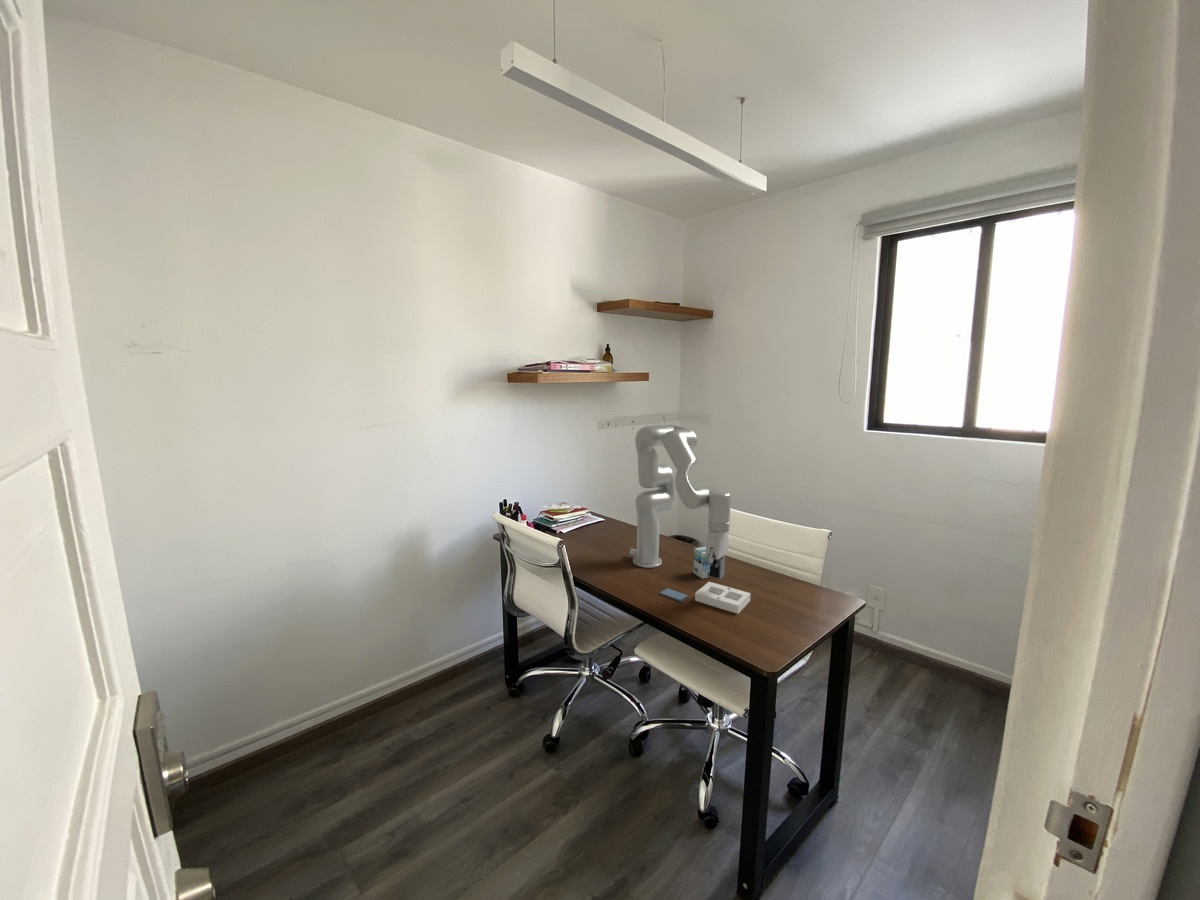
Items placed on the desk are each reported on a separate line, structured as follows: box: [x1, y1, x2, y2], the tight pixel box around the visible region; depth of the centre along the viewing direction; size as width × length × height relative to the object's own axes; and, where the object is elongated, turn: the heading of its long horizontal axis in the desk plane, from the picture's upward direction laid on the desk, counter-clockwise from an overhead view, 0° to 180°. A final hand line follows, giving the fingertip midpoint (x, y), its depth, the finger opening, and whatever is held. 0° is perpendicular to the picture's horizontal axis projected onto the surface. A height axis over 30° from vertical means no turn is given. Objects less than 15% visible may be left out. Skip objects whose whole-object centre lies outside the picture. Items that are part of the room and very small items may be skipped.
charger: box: [710, 556, 726, 580], centre depth 173 cm, size 4×4×7 cm
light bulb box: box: [692, 546, 711, 579], centre depth 196 cm, size 11×7×11 cm, turn 112°
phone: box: [657, 587, 691, 603], centre depth 177 cm, size 10×6×1 cm, turn 48°
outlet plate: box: [694, 581, 751, 614], centre depth 173 cm, size 16×12×3 cm
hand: (716, 574), depth 173 cm, fingers closed on charger, 4 cm apart
